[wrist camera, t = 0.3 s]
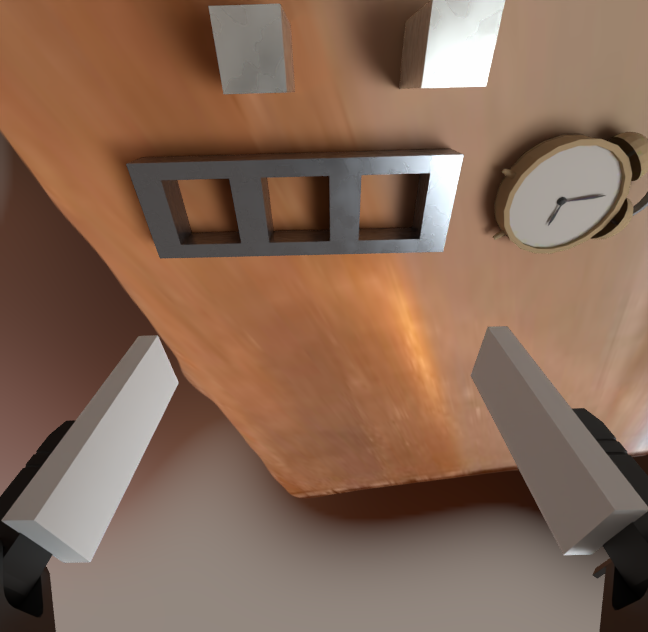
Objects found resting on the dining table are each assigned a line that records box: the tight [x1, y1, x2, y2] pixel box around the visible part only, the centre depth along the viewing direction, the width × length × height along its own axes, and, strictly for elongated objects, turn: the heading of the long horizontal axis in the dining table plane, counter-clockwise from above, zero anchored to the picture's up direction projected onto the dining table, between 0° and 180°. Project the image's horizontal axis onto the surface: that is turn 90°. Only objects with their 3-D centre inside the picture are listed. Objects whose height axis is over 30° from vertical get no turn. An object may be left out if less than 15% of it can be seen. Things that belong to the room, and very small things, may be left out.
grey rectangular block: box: [208, 4, 295, 94], centre depth 24 cm, size 4×4×8 cm
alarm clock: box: [493, 132, 648, 253], centre depth 32 cm, size 11×5×15 cm
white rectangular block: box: [399, 0, 505, 89], centre depth 24 cm, size 4×4×8 cm
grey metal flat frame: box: [126, 149, 464, 258], centre depth 33 cm, size 10×31×4 cm, turn 91°
